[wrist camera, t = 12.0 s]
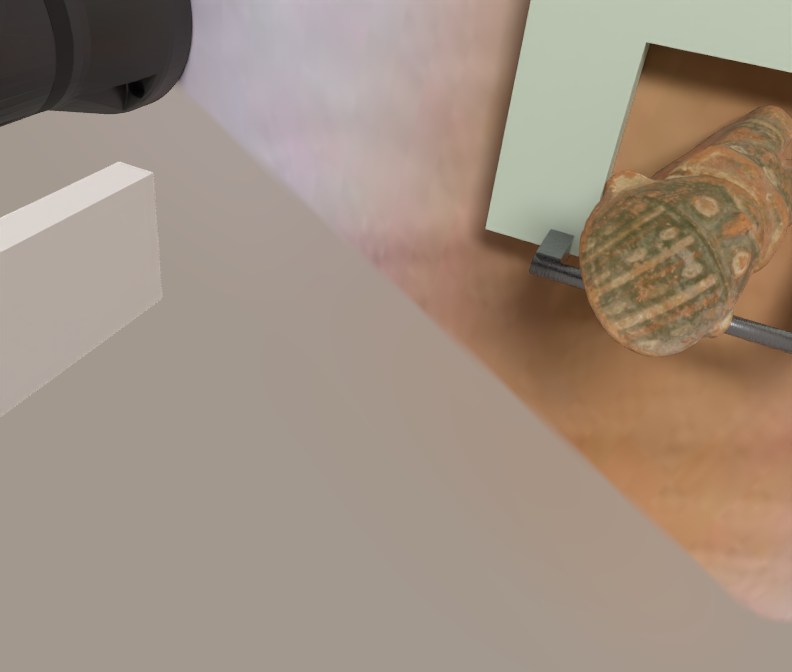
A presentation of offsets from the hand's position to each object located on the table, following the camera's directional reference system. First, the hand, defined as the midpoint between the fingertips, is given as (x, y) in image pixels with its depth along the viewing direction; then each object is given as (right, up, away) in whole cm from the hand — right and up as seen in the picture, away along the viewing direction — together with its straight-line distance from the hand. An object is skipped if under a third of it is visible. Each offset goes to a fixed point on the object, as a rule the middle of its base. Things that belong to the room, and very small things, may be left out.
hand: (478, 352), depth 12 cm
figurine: (+16, +10, +27) cm, 33 cm away
